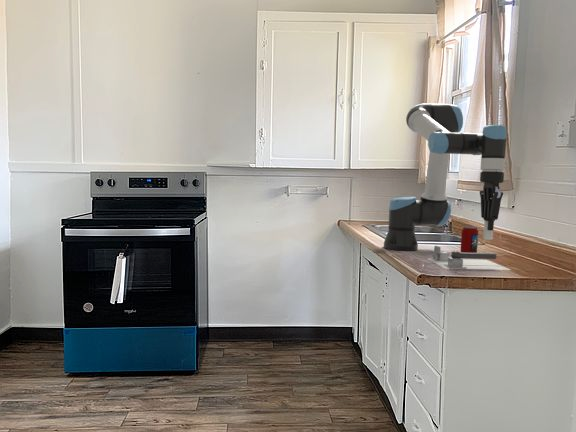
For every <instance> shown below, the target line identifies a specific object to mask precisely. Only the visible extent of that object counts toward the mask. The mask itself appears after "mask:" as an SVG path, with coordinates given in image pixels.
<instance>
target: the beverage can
mask: <svg viewBox="0 0 576 432" xmlns="http://www.w3.org/2000/svg"><path fill="white" fill-rule="evenodd" d="M478 241H479V229H478V227H477V226H472V225H471V226H470V225H465V226H463V228H462V229H461V237H460V251H459V252H464V253H478Z"/></svg>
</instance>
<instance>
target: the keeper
mask: <svg viewBox="0 0 576 432" xmlns="http://www.w3.org/2000/svg"><path fill="white" fill-rule="evenodd" d="M448 257H450V253H449V252H447V251H441V246H438V245H434V248H433V252H432V259H434V260H436V261H448Z"/></svg>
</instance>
